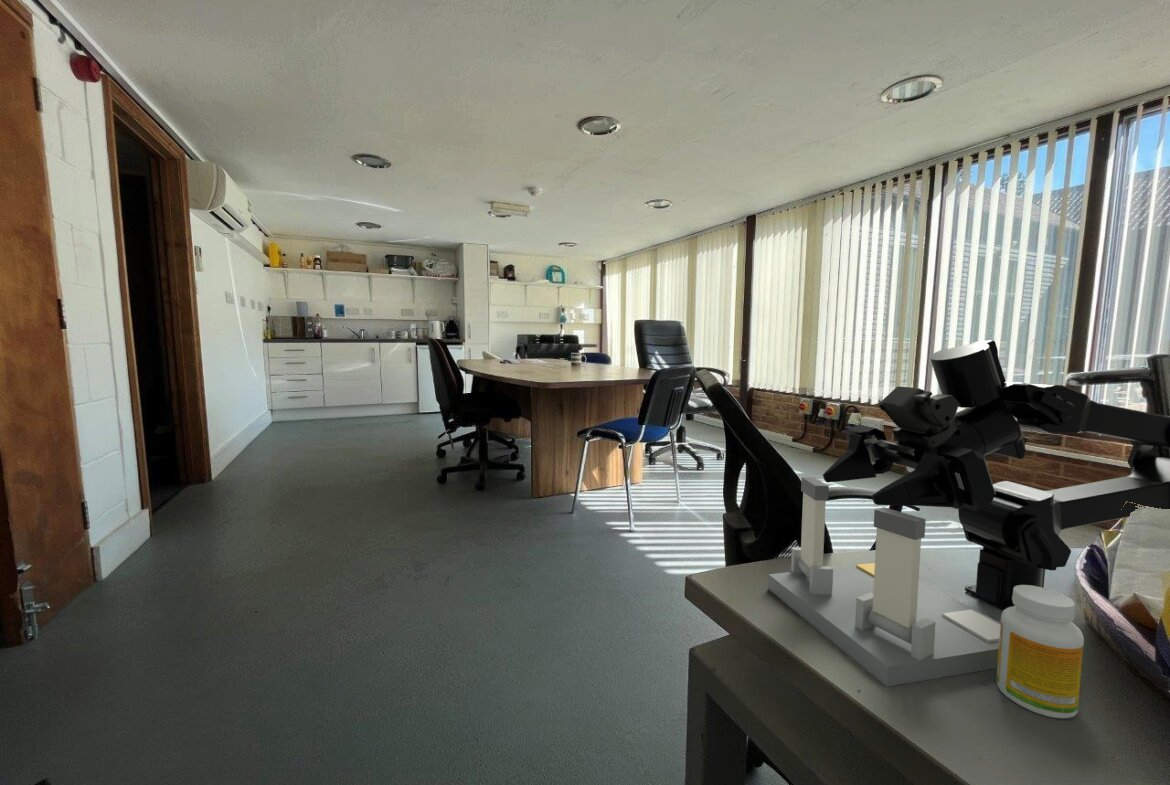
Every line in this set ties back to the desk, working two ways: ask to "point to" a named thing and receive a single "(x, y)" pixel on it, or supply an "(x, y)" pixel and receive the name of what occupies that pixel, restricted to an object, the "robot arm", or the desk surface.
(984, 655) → the grey base plate
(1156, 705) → the desk surface
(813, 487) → the switch
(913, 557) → the switch
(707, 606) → the desk surface
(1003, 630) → the supplement bottle
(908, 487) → the robot arm
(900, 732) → the desk surface
